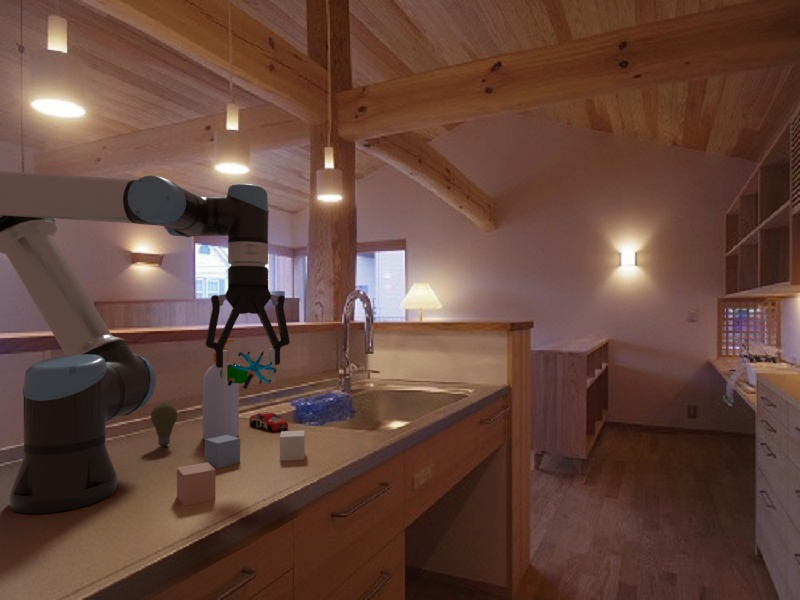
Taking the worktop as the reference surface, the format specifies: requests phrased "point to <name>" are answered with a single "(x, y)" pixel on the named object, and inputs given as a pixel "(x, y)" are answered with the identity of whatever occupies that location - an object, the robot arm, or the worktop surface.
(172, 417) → the light bulb
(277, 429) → the race car
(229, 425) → the soap bottle
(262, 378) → the stick construction toy
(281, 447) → the cream cube
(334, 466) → the worktop surface
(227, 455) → the slate blue cube
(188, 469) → the terracotta cube
